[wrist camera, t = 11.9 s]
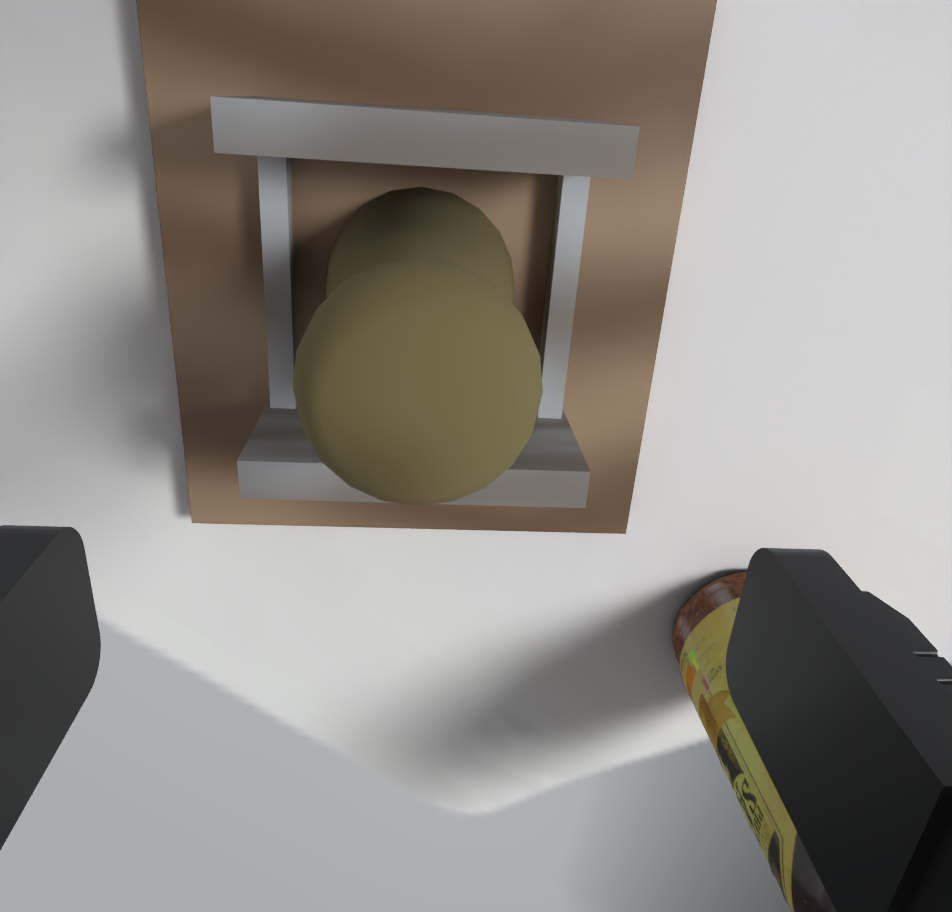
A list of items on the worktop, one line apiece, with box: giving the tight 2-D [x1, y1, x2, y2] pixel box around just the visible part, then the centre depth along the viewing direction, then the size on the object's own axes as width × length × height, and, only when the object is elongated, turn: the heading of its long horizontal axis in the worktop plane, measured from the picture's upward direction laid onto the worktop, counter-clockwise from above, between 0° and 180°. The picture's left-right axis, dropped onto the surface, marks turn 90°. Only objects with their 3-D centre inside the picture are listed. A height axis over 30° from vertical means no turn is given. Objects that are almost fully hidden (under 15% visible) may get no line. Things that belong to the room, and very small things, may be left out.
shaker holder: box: [137, 0, 717, 534], centre depth 23 cm, size 18×16×6 cm
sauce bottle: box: [673, 571, 836, 912], centre depth 24 cm, size 6×6×20 cm
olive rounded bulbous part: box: [293, 187, 543, 506], centre depth 20 cm, size 6×6×11 cm
